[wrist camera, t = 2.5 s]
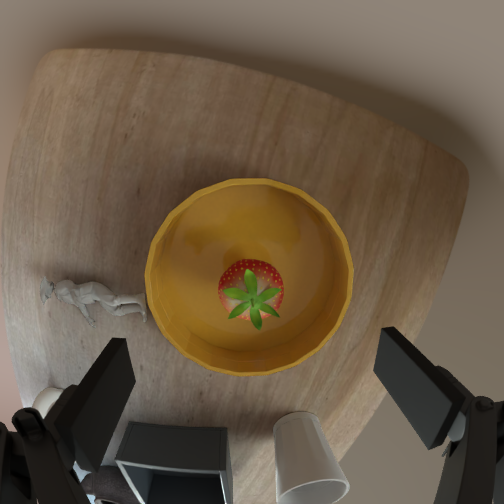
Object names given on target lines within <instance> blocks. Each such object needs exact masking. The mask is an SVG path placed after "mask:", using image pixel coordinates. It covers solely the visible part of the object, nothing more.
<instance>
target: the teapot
mask: <svg viewBox="0 0 504 504" xmlns="http://www.w3.org/2000/svg"><path fill="white" fill-rule="evenodd" d="M81 485H82V487H83V489H84V491H85V493H86V494H89V495H94V496H95V500H94V502H95V504H141V503H140V501H139V500H138V498H137V497H136V495H135V494H134V492H133V490H132V489H131V487H130V486H129V484H128V482H127V481H126V479H125V477H124V475H123V474H122V472H121V470H120V468H117V467H111V466H100V468H99V470H98V473H93V472H92V473H89V474H87V475H86V476H85V477H84V479H83V480H82V482H81Z"/></svg>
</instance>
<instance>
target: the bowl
mask: <svg viewBox="0 0 504 504" xmlns="http://www.w3.org/2000/svg"><path fill="white" fill-rule="evenodd" d="M242 259H256V260H261V261H264V262H267V263H269V264H271V265H272V266H273V267H275V268H276V269H277V271H278V272H279V274H280V275H281V278H282V281H283V285H284V296H283V300H282V303H281V305H280V307H279V309H278V310H277V311H276V312H277V313H278V314H279V316H280V318H279V317H276V316H273V315H270V316H268V317H266V318H263V319H262V328H261V330H258V329H257V328H255V326H254V325H253V323H252V322H251V320H245V319H241V318H238V317H235V318H232V319H228V317H229V315H230V313H229V312H228V311H227V310H226V309H225V308H224V306H223V305H222V303H221V301H220V298H219V294H218V284H219V280H220V278H221V276H222V275H223V273H224V272H225V271H226V270H227V269H228V268H229V267H230V266H231V265H232V264H234V263H235V262H237V261H239V260H242ZM353 274H354V267H353V263H352V258H351V254H350V250H349V246H348V242H347V238H346V236H345V235H344V233H343V232H342V230H341V229H340V227H339V225H338V224H337V222H336V221H335V219H334V218H333V216H332V215H331V213H330V212H329V211H328V209H326V208H325V207H324V206H322V205H321V204H320V203H319V202H317V201H316V200H315V199H313V198H312V197H311V196H309V195H308V194H307V193H306V192H304V191H303V190H301V189H299V188H296V187H293V186H290V185H287V184H284V183H281V182H278V181H275V180H272V179H269V178H232V179H228V180H225V181H222V182H220V183H217V184H214V185H211V186H208V187H206V188H203V189H200V190H197V191H196V192H194V193H193V194H192V195H191V196H189V197H188V198H187V199H186V200H184V201H183V202H182V203H181V204H180V205H178V206H177V207H176V208H175V209H173V210H172V211H171V212H170V213H169V214H168V215H167V217H166V219H165V220H164V222H163V223H162V225H161V227H160V228H159V230H158V232H157V233H156V235H155V236H154V238H153V240H152V241H151V245H150V249H149V254H148V258H147V263H146V268H145V273H144V276H145V285H146V293H147V301H148V306H149V308H150V310H151V312H152V315H153V317H154V319H155V321H156V323H157V325H158V327H159V329H160V331H161V333H162V334H163V335H164V336H165V337H166V338H167V339H168V340H169V342H170V343H171V344H172V345H173V346H174V347H175V348H176V349H177V350H178V351H179V352H180V353H181V354H182V355H183V356H185V357H187V358H189V359H190V360H192V361H194V362H196V363H197V364H199V365H201V366H203V367H204V368H206V369H208V370H212V371H216V372H220V373H224V374H228V375H233V376H264V375H270V374H273V373H276V372H279V371H282V370H286V369H289V368H292V367H295V366H296V365H298V364H300V363H301V362H303V361H304V360H306V359H307V358H309V357H310V356H312V355H313V354H315V353H316V352H318V351H319V350H320V349H321V348H322V347H323V346H324V345H325V344H326V342H327V341H328V340H329V339H330V338H331V336H332V335H333V334H334V333H335V332H336V330H337V329H338V328H339V327H340V324H341V322H342V320H343V318H344V315H345V313H346V311H347V308H348V306H349V303H350V301H351V296H352V286H353Z"/></svg>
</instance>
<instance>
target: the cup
mask: <svg viewBox="0 0 504 504" xmlns="http://www.w3.org/2000/svg"><path fill="white" fill-rule="evenodd" d="M273 434H274V444H275V465H276V503H277V504H333V503H335V502H336V501H338V500H340V499H341V498H342V497H343V496H345V495H346V494H347V492H348V491H349V487H350V486H349V483H348V481H347V479H346V477H345V475H344V473H343V471H342V469H341V467H340V465H339V464H338V463H337V461H336V458H335V456H334V454H333V452H332V450H331V448H330V446H329V444H328V441H327V439H326V437H325V435H324V433H323V431H322V428H321V425H320V422H319V419H318V417H317V416H316V415H314V414H312V413H309V412H294V413H290V414H288V415H285V416H283V417H282V418H280V419H279V420H278V421H277V422H276V423H275V425H274V427H273Z"/></svg>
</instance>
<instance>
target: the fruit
mask: <svg viewBox="0 0 504 504" xmlns="http://www.w3.org/2000/svg"><path fill="white" fill-rule="evenodd" d="M218 294H219V298H220V301H221V303H222V305H223V306H224V308H225V309H226V310H227V311H228V312H229V313H230V315H229V317H228V319H232V318H235V317H238V318H241V319H245V320H251V322H252V323H253V325H254V326H255V328H257V329H258V330H261V328H262V319H263V318H266V317H268V316H270V315H273V316H276V317H279V318H280V316H279V314H278V313H277V312H276V311H277V310H278V309H279V307H280V305H281V303H282V300H283V296H284V285H283V281H282V278H281V275H280V274H279V272H278V271H277V269H276V268H275V267H273V266H272V265H271V264H269V263H267V262H264V261H261V260H256V259H242V260H239V261H237V262H235V263H234V264H232V265H231V266H230V267H229V268H228V269H227V270H226V271H225V272H224V273H223V275H222V276H221V278H220V280H219V284H218Z"/></svg>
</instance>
